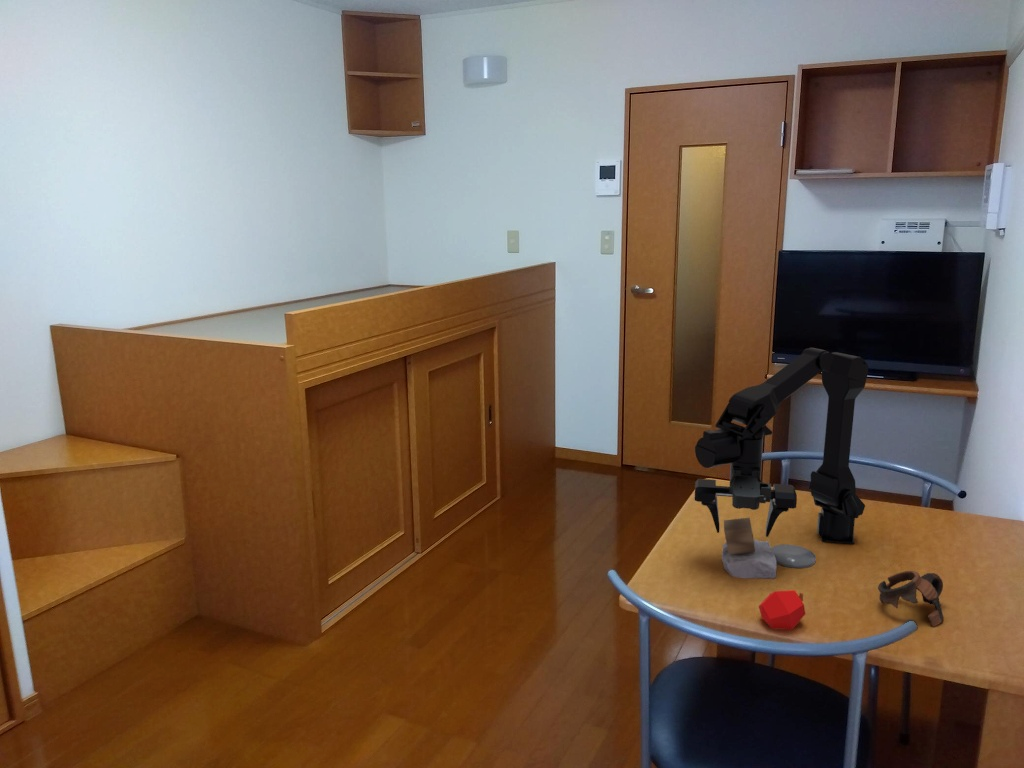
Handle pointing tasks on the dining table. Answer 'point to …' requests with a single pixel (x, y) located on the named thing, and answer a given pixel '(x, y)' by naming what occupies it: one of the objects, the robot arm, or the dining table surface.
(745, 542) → the walnut cube
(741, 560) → the stone block
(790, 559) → the slate coaster
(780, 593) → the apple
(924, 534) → the dining table surface
